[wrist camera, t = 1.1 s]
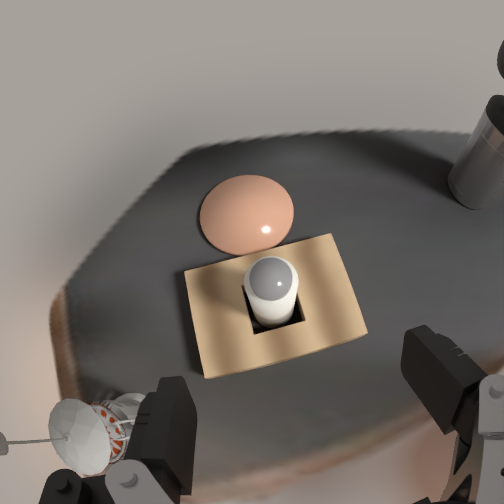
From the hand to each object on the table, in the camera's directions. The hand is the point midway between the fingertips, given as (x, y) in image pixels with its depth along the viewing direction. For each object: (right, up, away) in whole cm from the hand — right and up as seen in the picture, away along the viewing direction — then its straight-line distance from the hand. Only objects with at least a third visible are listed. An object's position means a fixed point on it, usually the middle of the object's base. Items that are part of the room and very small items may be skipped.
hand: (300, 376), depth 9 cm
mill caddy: (+1, -3, +29) cm, 29 cm away
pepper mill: (+1, -3, +29) cm, 29 cm away
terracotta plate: (-2, +10, +35) cm, 37 cm away
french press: (-16, -19, +23) cm, 34 cm away
